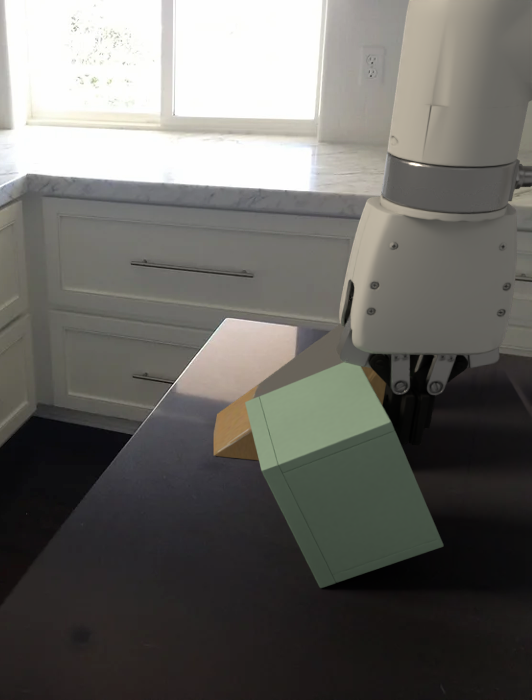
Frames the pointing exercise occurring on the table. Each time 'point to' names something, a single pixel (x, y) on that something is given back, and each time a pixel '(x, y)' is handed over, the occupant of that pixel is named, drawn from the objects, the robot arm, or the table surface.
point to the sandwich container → (234, 421)
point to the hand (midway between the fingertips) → (402, 435)
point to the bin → (340, 474)
